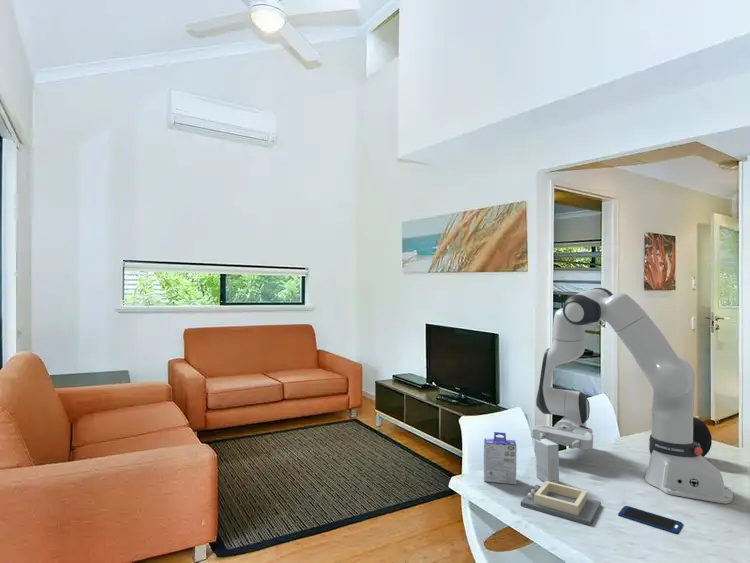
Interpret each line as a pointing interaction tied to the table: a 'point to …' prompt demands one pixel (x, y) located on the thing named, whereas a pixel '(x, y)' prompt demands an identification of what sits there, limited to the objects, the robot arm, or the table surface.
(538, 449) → the skincare box
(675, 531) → the cell phone
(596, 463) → the table surface
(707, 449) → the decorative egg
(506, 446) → the ink cartridge box
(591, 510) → the socket dock
